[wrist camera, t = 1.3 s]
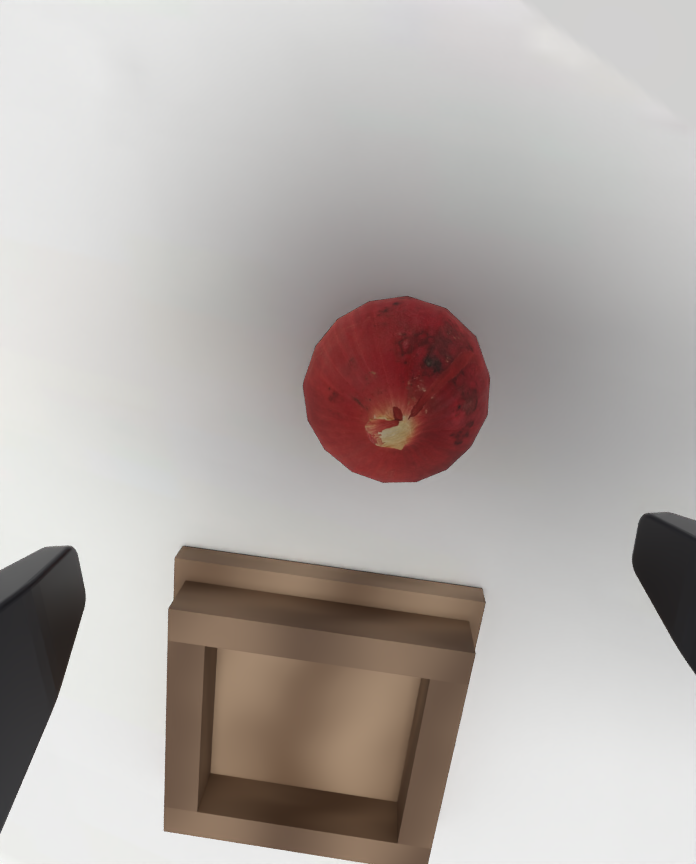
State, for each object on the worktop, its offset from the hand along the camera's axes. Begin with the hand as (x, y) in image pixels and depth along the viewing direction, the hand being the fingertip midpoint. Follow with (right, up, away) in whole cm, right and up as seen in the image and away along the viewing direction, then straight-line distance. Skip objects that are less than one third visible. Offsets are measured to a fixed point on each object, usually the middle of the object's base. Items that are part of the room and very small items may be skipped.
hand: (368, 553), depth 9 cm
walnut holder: (-2, -10, +18) cm, 21 cm away
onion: (+1, +5, +13) cm, 14 cm away
